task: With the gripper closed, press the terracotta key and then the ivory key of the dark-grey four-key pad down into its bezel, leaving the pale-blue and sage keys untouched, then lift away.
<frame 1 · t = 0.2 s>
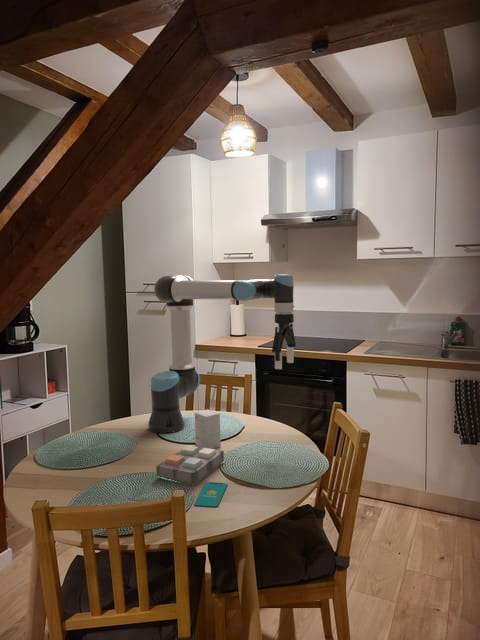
hand: (284, 365, 194), 28 cm above the table, fingers open, 13 cm apart
key terracotta: (175, 461, 158), point 4 cm above the table, slide at 0.0 cm
smartphone: (211, 496, 144), on the table
key blue: (192, 465, 156), point 4 cm above the table, slide at 0.0 cm
key ivory: (206, 455, 164), point 4 cm above the table, slide at 0.0 cm
keypad: (191, 470, 161), on the table
key sage: (190, 452, 167), point 4 cm above the table, slide at 0.0 cm
small box: (208, 446, 184), on the table
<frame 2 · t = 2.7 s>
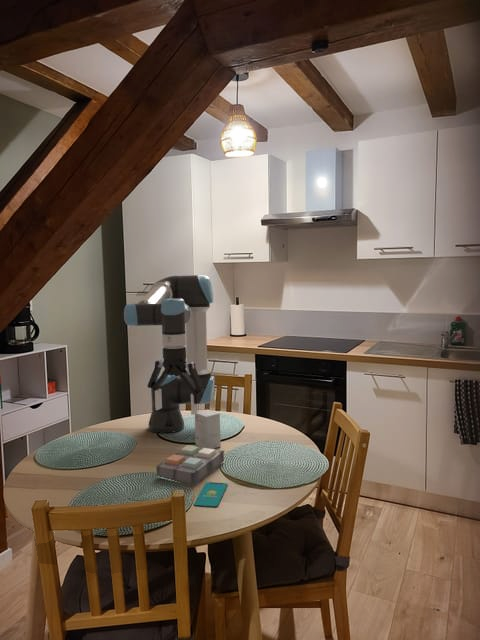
hand: (176, 411, 157), 21 cm above the table, fingers open, 13 cm apart
nothing on the table moved.
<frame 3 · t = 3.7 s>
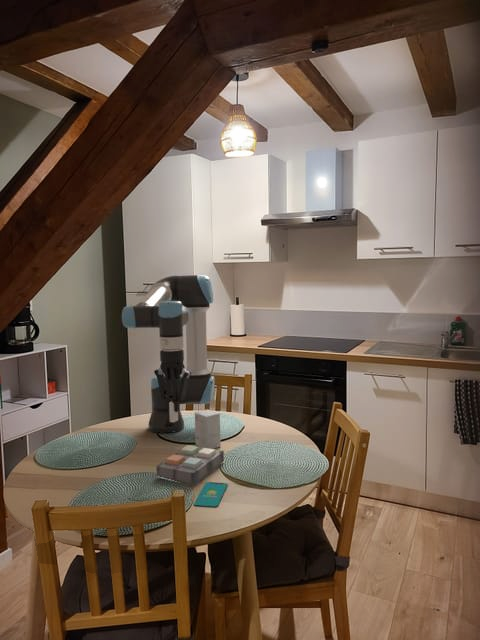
hand: (174, 420, 157), 18 cm above the table, fingers closed
nothing on the table moved.
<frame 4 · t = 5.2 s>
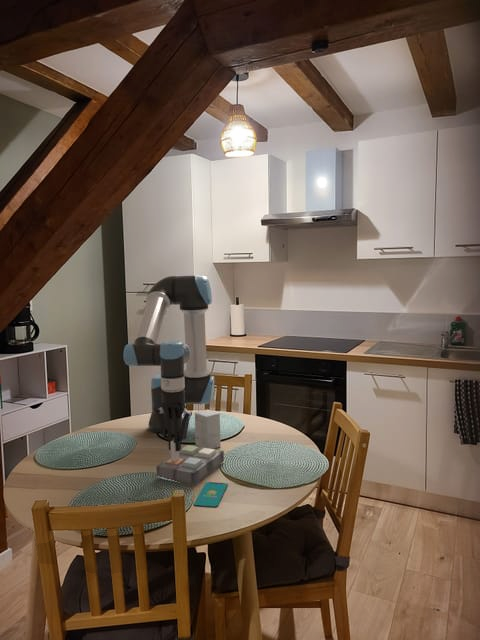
hand: (175, 459, 158), 5 cm above the table, fingers closed
key terracotta: (175, 464, 158), point 3 cm above the table, slide at 1.0 cm, touching gripper
everything else where it was.
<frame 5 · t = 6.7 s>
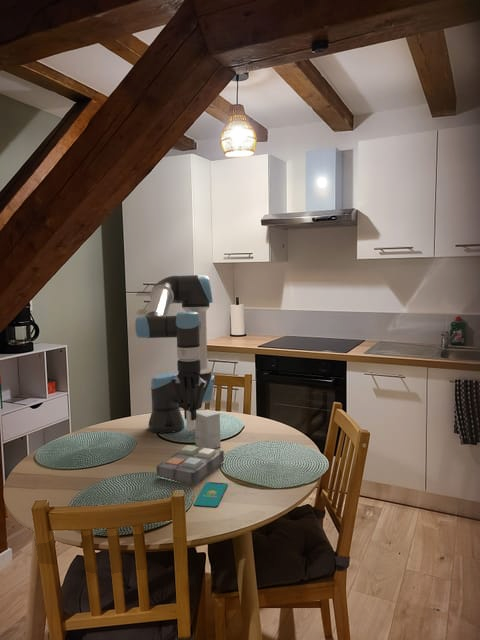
hand: (190, 429, 160), 14 cm above the table, fingers closed
key terracotta: (175, 465, 158), point 3 cm above the table, slide at 1.1 cm
everything else where it was.
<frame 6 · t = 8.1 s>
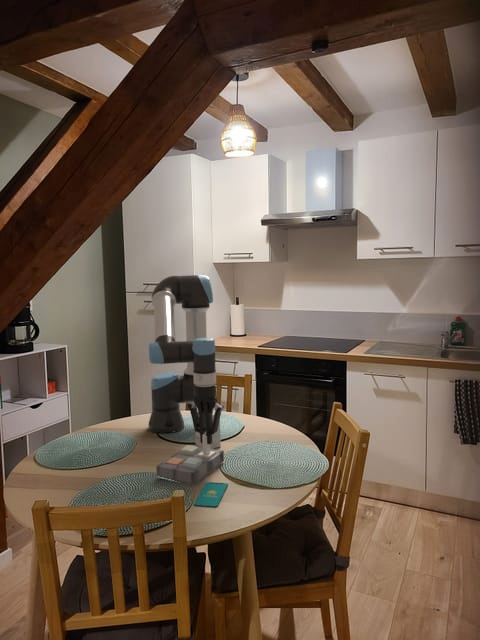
hand: (206, 452, 164), 5 cm above the table, fingers closed
key ivory: (206, 457, 164), point 3 cm above the table, slide at 0.8 cm, touching gripper
everything else where it was.
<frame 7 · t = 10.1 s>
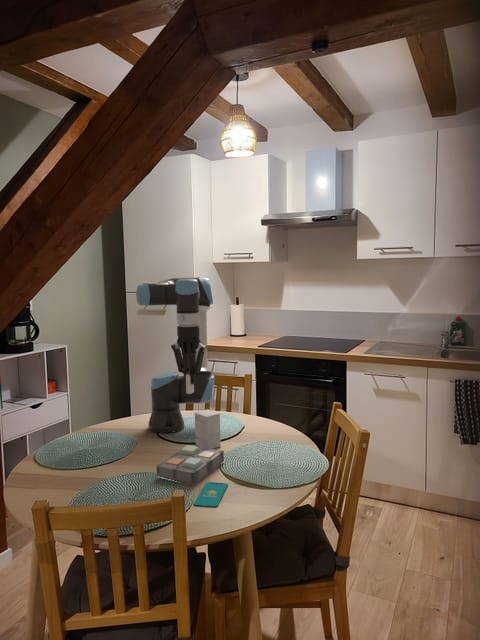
hand: (190, 392, 166), 25 cm above the table, fingers closed
key ivory: (206, 458, 164), point 3 cm above the table, slide at 1.1 cm
everything else where it was.
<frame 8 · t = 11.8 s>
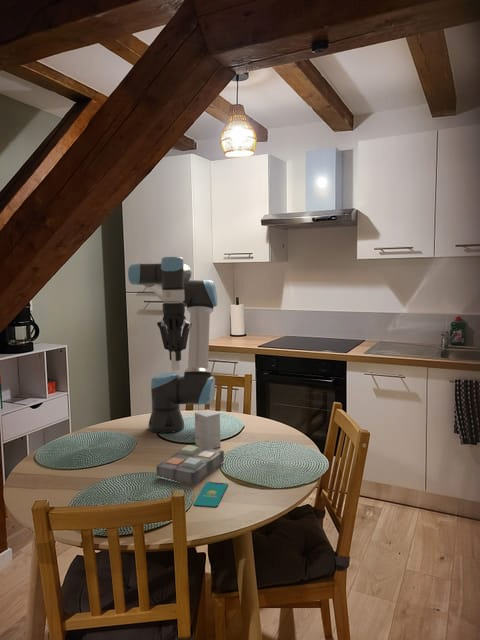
hand: (175, 369, 167), 32 cm above the table, fingers closed
nothing on the table moved.
at the end: key terracotta slide at 1.1 cm; key ivory slide at 1.1 cm; key blue slide at 0.0 cm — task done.
